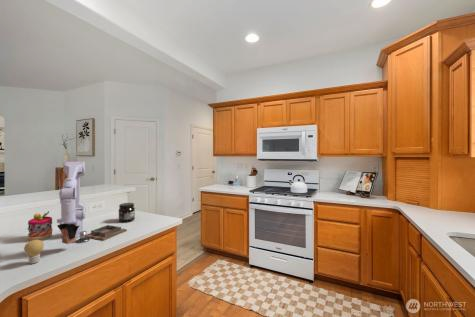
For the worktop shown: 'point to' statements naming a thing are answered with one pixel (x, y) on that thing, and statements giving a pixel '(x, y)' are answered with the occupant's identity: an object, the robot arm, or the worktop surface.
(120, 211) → the supplement container
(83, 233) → the metal door knob
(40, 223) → the cake
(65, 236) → the plug block
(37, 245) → the light bulb
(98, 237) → the holder board
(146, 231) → the worktop surface
